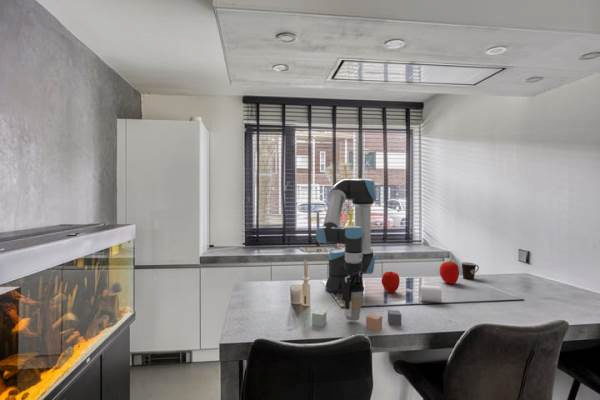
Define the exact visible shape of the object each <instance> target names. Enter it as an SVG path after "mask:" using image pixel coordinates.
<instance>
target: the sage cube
mask: <svg viewBox="0 0 600 400" xmlns="http://www.w3.org/2000/svg"><path fill="white" fill-rule="evenodd" d="M325 324H327V310H320V309H315V310H313V312H312V313H311V325H312V326H318V327H324V326H325Z"/></svg>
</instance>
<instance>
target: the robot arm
mask: <svg viewBox="0 0 600 400" xmlns="http://www.w3.org/2000/svg"><path fill="white" fill-rule="evenodd" d="M376 191H377V190H376V183H375V181H374V180H373V179H371V178H345V179H344V178H343V179H342V180H340V181H338V182H336V183H335V184H333V186H332V187H331V189H330V191H329V193H328V199H329V201H328V206H327V208H326V209H327V210H326V214H325V216H324V220H323V225H322V226H318V227H317V228H316V233H315V234H316V235H315V236H316V237H315V238H316V242H317V243H321V244H338V245H339V244H340V245H344V249H343V248H342V249H341V248H340V249H335V250H331V251H330V252H329V254H328V277H327V280H326V283H325V291H326V292H329V293H333V294H342V298H341V300H342V301H343V302H344V301H345V304H344V316H345V317H346V316H349V317H351V310H352V301H351V295H352V292H349V290H350V286H351V287H352V286H354V285H355V283H356V284H359V283H361V284H362V286H363V287H364V284H363V283H364V282H363V275H372V274H373V273H374V269H375V264H376V263H375V261H376V255H377V254H376V253H374V249H373V248H372V247H371V240H372V239H371V236H372V235H371V227H372V225H371V221H372V220H371V218H372V217H371V215H372V214H371V213H372V211H371V210H372V209H371V208H372V205H374V202H375V201H376V200H377V192H376ZM346 201H351V202H352V205H353V206H354V225H348V226H345V227H339V226H340V222H341V217H342V212H343V207H344V203H345V202H346ZM351 283H352V284H351ZM342 288H343V289H342ZM363 296H364V290H363V291H362V297H363ZM361 308H362V307H361ZM361 308H360V312H361V311H362V310H361Z"/></svg>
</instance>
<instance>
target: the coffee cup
mask: <svg viewBox="0 0 600 400" xmlns="http://www.w3.org/2000/svg"><path fill="white" fill-rule="evenodd" d="M351 284H352V283H351ZM342 289H343V288H342ZM362 291H363V292H364V291H365V288H364V285H363V286H362V284H361V283H359V284H356V283H355V285H354V286H352V287H351V286H350V290H349V292H352V295H351V301H352V310H351V317H349V316H345V318H346V320H348V321H352V322H353V321H358V320H360V315H361V311H360V308H362V301H363V296H362V294H363V293H362ZM343 302H344V305H345V301H343Z"/></svg>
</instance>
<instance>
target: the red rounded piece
mask: <svg viewBox="0 0 600 400" xmlns="http://www.w3.org/2000/svg"><path fill="white" fill-rule="evenodd" d="M400 280H401V279H400V276H399V274H398V273H397V272H394V271H385V272H384V273H383V275H382V277H381V285H382V286H383V288H384V290H385V291H386V292H387V293H390V294H393V293H396V291H398V289H399V286H400Z"/></svg>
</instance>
